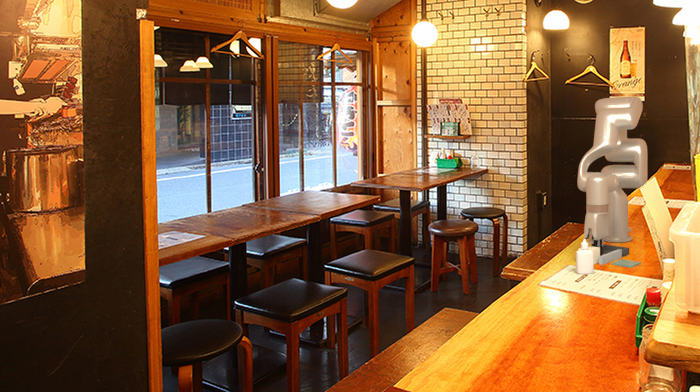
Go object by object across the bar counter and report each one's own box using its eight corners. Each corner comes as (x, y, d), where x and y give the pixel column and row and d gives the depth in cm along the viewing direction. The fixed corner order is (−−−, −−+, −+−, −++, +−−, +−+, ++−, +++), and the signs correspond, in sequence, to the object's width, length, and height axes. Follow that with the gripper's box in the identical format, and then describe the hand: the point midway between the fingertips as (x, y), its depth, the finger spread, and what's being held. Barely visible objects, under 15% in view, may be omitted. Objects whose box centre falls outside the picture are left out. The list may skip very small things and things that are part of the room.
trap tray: (604, 250, 234) (604, 244, 234) (629, 254, 226) (629, 247, 226) (597, 252, 231) (597, 246, 231) (622, 256, 223) (622, 250, 223)
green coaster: (621, 260, 218) (621, 259, 218) (640, 263, 213) (640, 262, 213) (611, 264, 214) (611, 263, 214) (631, 267, 208) (631, 266, 208)
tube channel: (595, 253, 231) (595, 245, 230) (621, 257, 223) (621, 249, 222) (575, 260, 222) (575, 252, 222) (602, 265, 214) (602, 256, 214)
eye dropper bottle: (577, 270, 209) (577, 237, 207) (594, 272, 206) (594, 238, 204) (574, 273, 205) (574, 240, 204) (592, 275, 202) (592, 241, 201)
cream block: (587, 259, 222) (587, 245, 221) (599, 262, 218) (599, 247, 218) (578, 263, 219) (578, 248, 218) (591, 265, 215) (591, 250, 214)
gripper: (598, 204, 227) (598, 251, 229) (576, 210, 218) (577, 259, 220) (617, 206, 221) (617, 254, 223) (596, 212, 212) (596, 262, 214)
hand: (597, 256), depth 222 cm, fingers closed
